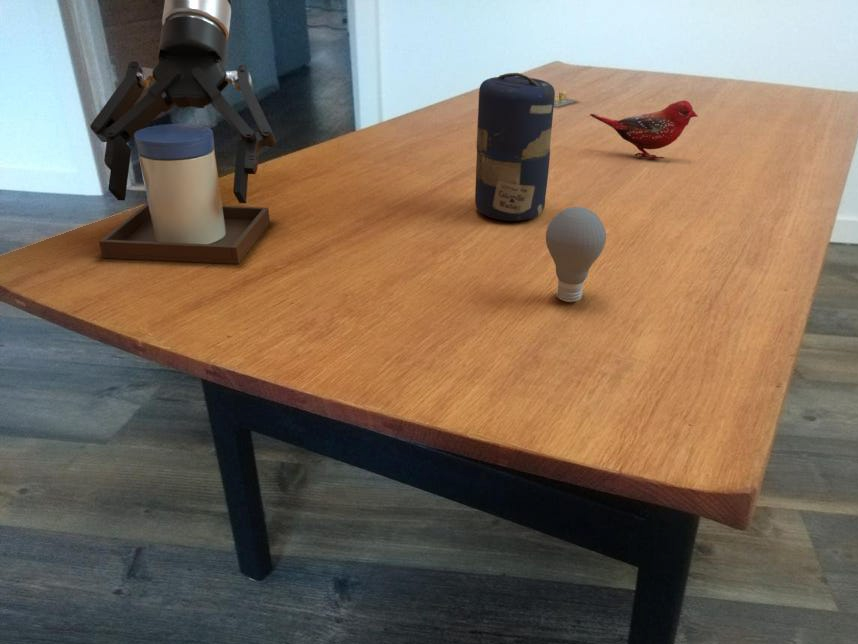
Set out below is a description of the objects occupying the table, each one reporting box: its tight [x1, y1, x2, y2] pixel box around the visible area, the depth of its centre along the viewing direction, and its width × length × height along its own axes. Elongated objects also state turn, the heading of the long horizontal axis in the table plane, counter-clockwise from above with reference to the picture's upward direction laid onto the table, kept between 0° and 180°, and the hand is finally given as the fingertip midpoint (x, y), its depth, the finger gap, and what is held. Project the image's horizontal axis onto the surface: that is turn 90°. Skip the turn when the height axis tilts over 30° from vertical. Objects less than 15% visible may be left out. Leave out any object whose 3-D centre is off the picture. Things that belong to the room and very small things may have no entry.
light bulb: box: [545, 206, 607, 303], centre depth 76 cm, size 6×6×10 cm
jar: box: [137, 149, 226, 244], centre depth 86 cm, size 8×8×12 cm
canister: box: [474, 72, 556, 222], centre depth 96 cm, size 10×10×18 cm
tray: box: [98, 201, 271, 265], centre depth 88 cm, size 15×13×2 cm
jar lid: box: [133, 123, 216, 159], centre depth 83 cm, size 8×8×2 cm
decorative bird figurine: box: [589, 100, 698, 160], centre depth 125 cm, size 3×18×10 cm, turn 70°
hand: (178, 196), depth 84 cm, fingers open, 13 cm apart
